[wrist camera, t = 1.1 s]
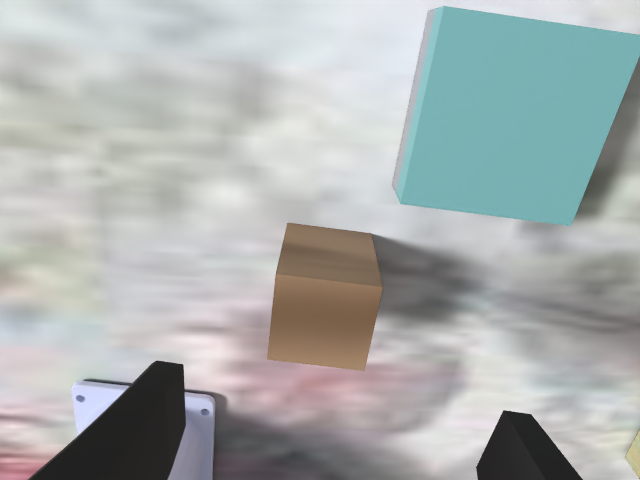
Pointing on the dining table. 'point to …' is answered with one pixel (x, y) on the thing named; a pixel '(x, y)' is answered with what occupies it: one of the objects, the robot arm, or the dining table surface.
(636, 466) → the beige wooden board
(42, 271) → the dining table surface
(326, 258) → the walnut block
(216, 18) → the dining table surface
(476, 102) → the base brick
